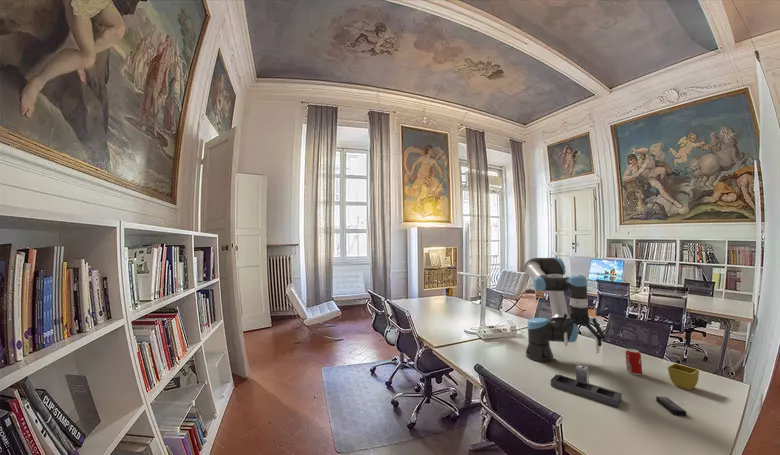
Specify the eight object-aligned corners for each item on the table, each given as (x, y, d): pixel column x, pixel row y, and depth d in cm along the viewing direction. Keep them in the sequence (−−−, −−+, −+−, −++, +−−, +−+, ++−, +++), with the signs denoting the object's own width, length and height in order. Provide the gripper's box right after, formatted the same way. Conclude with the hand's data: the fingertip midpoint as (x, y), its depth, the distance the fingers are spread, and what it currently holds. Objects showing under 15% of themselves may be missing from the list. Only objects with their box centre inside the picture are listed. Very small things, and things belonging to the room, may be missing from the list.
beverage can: (645, 376, 147) (643, 352, 148) (631, 375, 148) (629, 352, 149) (637, 371, 153) (635, 348, 154) (624, 370, 154) (622, 347, 155)
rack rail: (551, 386, 138) (550, 379, 138) (557, 380, 144) (556, 374, 144) (618, 408, 119) (617, 400, 119) (621, 399, 125) (621, 392, 125)
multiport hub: (673, 416, 114) (673, 410, 114) (655, 401, 124) (655, 396, 124) (687, 417, 112) (686, 411, 113) (667, 402, 123) (667, 397, 123)
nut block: (576, 383, 141) (575, 366, 141) (578, 380, 144) (577, 363, 144) (587, 386, 137) (586, 369, 138) (589, 383, 140) (588, 366, 141)
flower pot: (693, 393, 129) (692, 373, 130) (668, 385, 137) (667, 366, 138) (700, 389, 133) (699, 369, 134) (675, 381, 141) (674, 363, 142)
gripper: (549, 304, 149) (551, 344, 148) (608, 311, 131) (611, 357, 130) (554, 301, 155) (556, 341, 153) (611, 308, 136) (614, 353, 135)
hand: (581, 349), depth 142 cm, fingers open, 13 cm apart
